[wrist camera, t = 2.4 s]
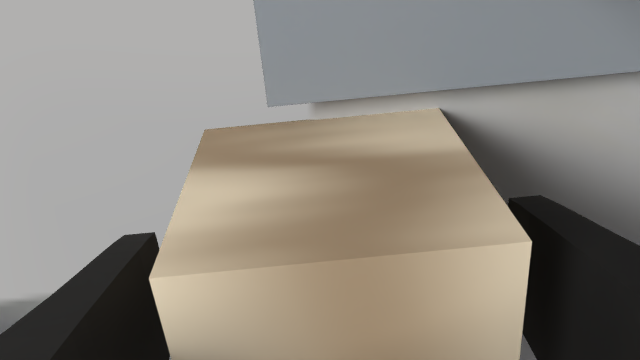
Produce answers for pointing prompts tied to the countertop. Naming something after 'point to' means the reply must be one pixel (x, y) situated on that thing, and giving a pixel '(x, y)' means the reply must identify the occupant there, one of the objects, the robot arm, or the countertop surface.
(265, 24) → the baseplate
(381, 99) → the countertop surface
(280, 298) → the birch block
